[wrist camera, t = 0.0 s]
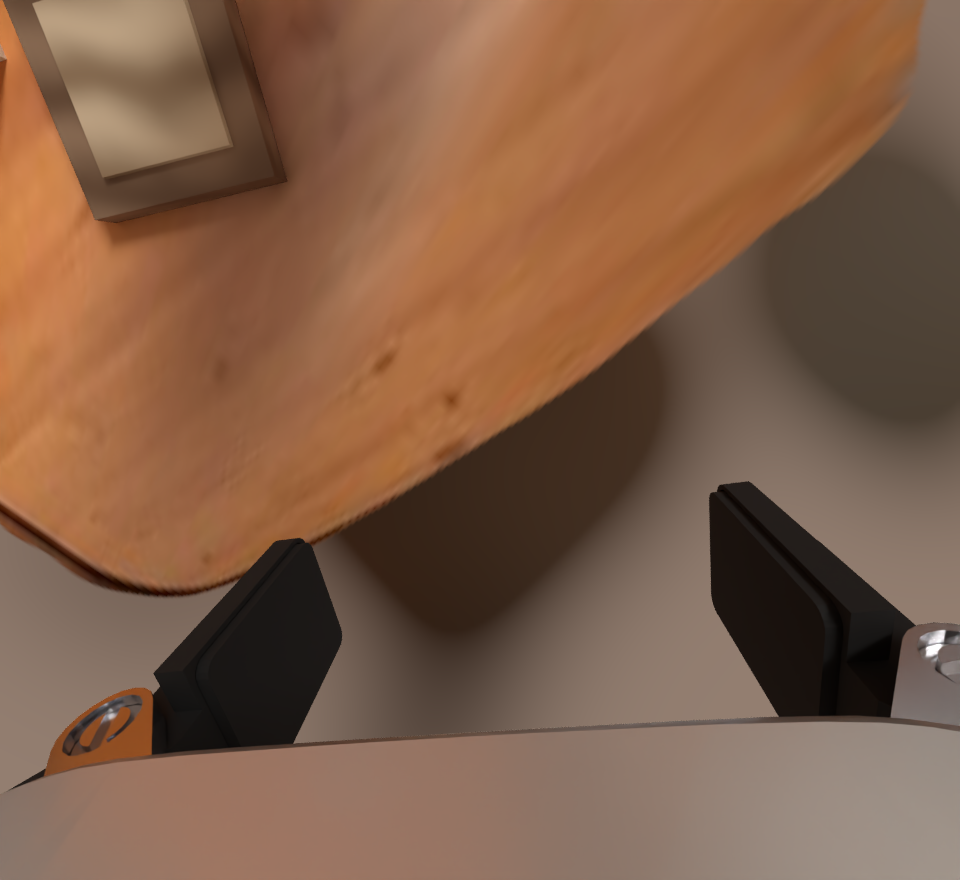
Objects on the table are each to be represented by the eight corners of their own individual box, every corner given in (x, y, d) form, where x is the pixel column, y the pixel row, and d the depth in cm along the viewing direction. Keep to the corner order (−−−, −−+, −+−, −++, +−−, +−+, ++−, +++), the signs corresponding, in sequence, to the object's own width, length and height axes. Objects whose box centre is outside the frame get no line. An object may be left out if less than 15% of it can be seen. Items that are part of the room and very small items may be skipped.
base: (21, -10, 33) (-17, -32, 31) (213, -74, 31) (189, -103, 29) (115, 222, 39) (89, 219, 36) (287, 181, 36) (271, 174, 34)
